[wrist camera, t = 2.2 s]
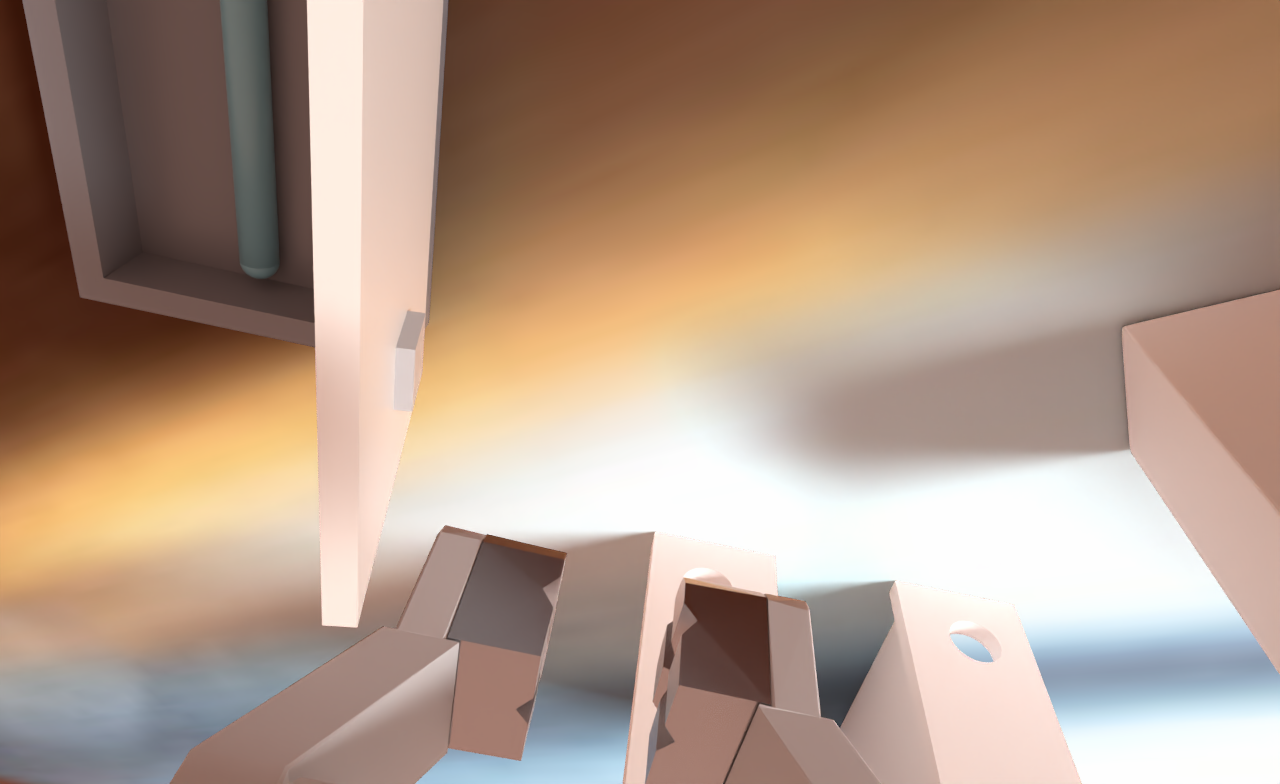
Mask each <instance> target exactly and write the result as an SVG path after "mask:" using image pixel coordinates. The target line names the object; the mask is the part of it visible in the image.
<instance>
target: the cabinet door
mask: <svg viewBox="0 0 1280 784" xmlns="http://www.w3.org/2000/svg"><path fill="white" fill-rule="evenodd" d="M442 17H443V0H307V24H308V65H309V107H310V148H311V190H312V231H313V272H314V314H315V355H316V396H317V438H318V479H319V521H320V562H321V603H322V625H325V626H340V627H356V628H357V627H358V623H359V619H360V615H361V611H362V607H363V603H364V599H365V595H366V592H367V588H368V584H369V580H370V576H371V572H372V568H373V564H374V560H375V556H376V552H377V548H378V544H379V540H380V536H381V532H382V528H383V524H384V520H385V516H386V512H387V509H388V505H389V501H390V497H391V493H392V489H393V485H394V481H395V477H396V473H397V469H398V465H399V461H400V457H401V453H402V449H403V445H404V441H405V437H406V433H407V430H408V426H409V422H410V418H411V414H412V411H413V407H414V403H415V399H416V395H417V391H418V387H419V383H420V379H421V375H422V368H423V351H424V333H425V316H426V296H427V278H428V261H429V243H430V226H431V208H432V191H433V173H434V156H435V139H436V121H437V104H438V86H439V69H440V51H441V34H442Z"/></svg>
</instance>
